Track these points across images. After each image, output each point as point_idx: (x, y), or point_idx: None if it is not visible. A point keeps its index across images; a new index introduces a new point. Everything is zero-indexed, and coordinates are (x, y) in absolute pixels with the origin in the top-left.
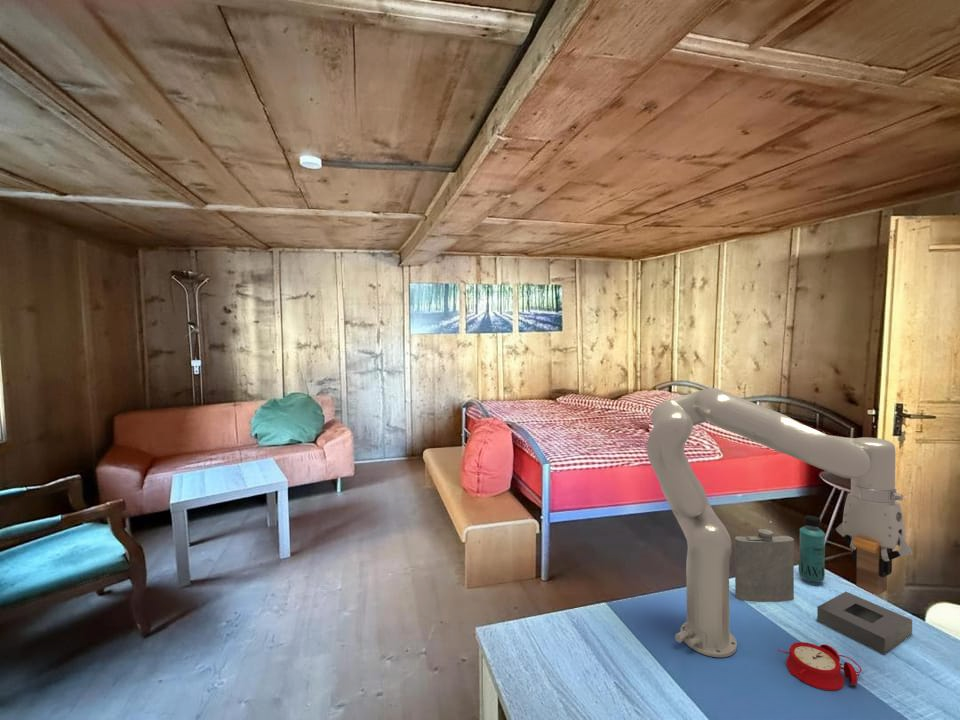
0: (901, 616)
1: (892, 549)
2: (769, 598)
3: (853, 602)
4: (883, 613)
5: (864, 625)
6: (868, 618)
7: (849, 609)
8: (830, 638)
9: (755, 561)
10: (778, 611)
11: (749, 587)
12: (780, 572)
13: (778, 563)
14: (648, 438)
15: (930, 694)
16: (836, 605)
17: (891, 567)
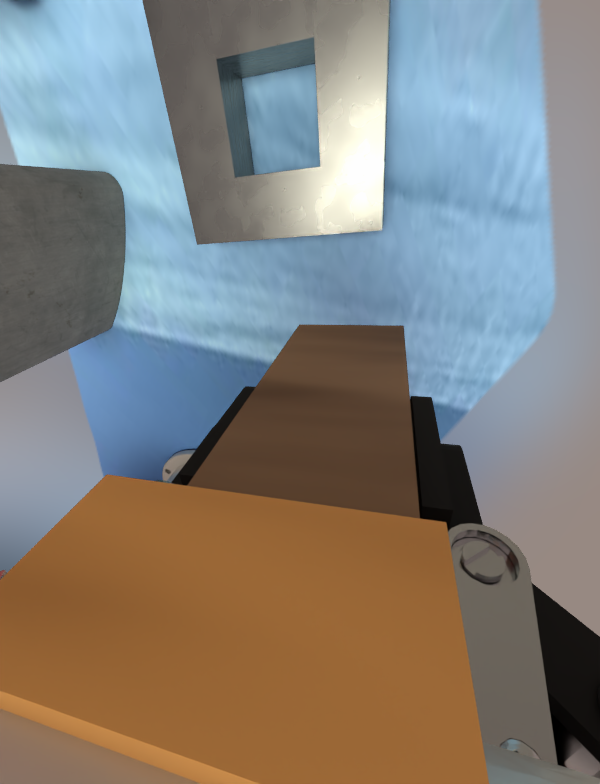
0: None
1: (538, 710)
2: (116, 272)
3: (209, 61)
4: (303, 13)
5: (315, 211)
6: (273, 63)
7: (230, 125)
8: (280, 286)
9: (12, 346)
10: (162, 291)
11: (86, 327)
12: (46, 251)
13: (13, 266)
14: None
15: (509, 294)
16: (207, 168)
17: (467, 479)
